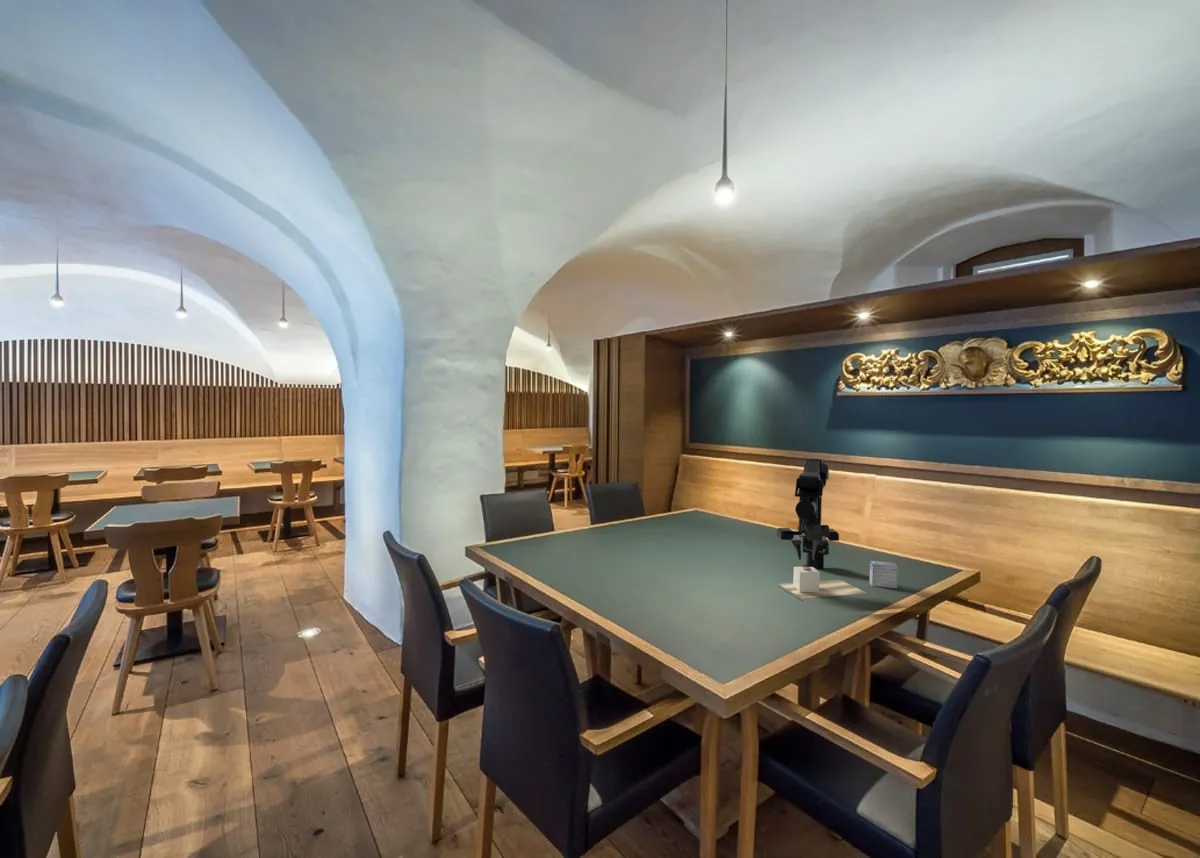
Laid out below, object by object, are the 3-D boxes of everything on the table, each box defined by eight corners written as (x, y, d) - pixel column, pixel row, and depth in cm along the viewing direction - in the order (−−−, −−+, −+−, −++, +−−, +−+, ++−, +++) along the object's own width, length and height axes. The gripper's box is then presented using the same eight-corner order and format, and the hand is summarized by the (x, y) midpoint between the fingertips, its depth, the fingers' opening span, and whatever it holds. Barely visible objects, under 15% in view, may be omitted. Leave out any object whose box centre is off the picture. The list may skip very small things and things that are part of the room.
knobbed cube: (799, 592, 178) (800, 570, 178) (793, 585, 184) (793, 564, 184) (819, 592, 178) (819, 571, 177) (812, 585, 184) (813, 565, 184)
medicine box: (894, 587, 188) (895, 562, 187) (897, 591, 183) (898, 566, 183) (868, 584, 190) (869, 560, 189) (871, 589, 185) (872, 564, 185)
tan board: (778, 586, 186) (778, 573, 186) (839, 582, 192) (839, 569, 192) (801, 601, 173) (802, 587, 173) (867, 596, 178) (867, 582, 178)
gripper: (786, 517, 172) (785, 566, 173) (846, 518, 171) (845, 567, 172) (776, 510, 183) (775, 556, 184) (833, 511, 182) (831, 557, 183)
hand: (806, 559), depth 180 cm, fingers open, 4 cm apart
